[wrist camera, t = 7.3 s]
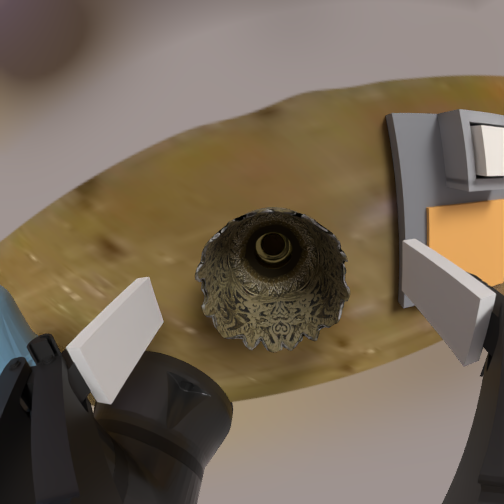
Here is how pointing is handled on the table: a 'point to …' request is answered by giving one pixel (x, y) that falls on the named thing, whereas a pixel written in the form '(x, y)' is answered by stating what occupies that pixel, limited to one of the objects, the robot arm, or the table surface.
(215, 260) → the cup
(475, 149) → the button
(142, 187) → the table surface
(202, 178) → the table surface
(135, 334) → the robot arm
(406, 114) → the plate
